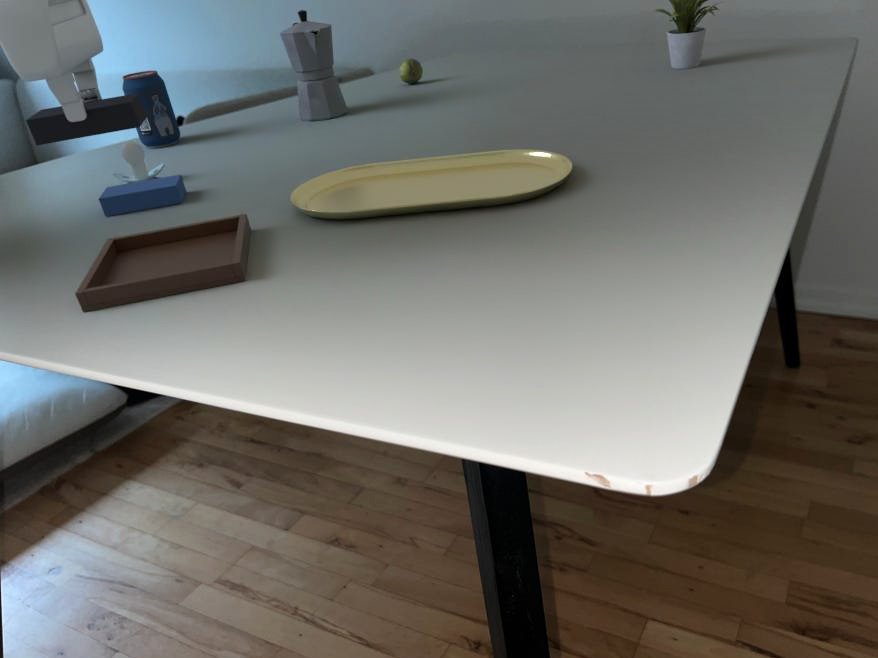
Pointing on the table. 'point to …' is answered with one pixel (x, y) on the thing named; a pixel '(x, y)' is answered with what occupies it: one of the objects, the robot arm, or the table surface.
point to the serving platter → (432, 184)
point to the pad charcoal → (88, 119)
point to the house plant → (686, 32)
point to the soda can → (153, 109)
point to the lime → (410, 71)
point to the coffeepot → (314, 69)
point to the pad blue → (142, 195)
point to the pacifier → (136, 165)
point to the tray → (167, 262)
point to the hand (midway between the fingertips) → (87, 113)
